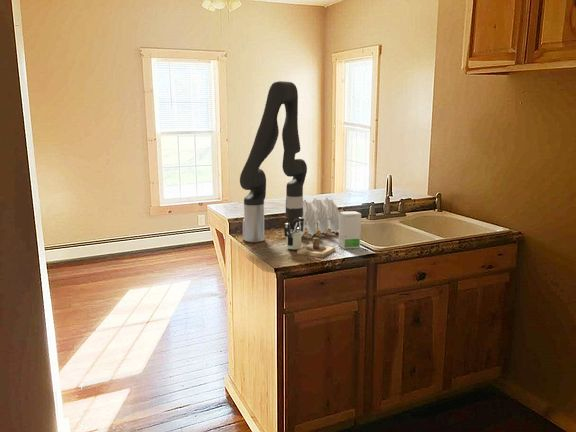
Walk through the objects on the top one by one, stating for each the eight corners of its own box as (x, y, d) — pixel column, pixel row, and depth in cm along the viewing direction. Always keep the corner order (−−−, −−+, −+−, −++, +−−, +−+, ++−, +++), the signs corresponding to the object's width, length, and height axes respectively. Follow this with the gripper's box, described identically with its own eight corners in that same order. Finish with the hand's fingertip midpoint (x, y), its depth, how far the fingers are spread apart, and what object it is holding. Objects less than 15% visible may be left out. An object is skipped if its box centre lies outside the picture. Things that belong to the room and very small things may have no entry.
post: (297, 253, 214) (297, 239, 213) (309, 246, 224) (310, 233, 223) (322, 257, 208) (323, 243, 207) (334, 250, 218) (335, 236, 217)
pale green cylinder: (284, 247, 219) (284, 230, 217) (291, 244, 224) (291, 228, 222) (296, 250, 216) (296, 232, 214) (303, 246, 221) (303, 229, 220)
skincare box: (343, 249, 220) (344, 214, 217) (337, 245, 227) (338, 211, 223) (360, 247, 223) (362, 213, 219) (354, 244, 229) (355, 210, 226)
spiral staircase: (340, 241, 249) (294, 244, 238) (326, 220, 261) (282, 222, 251) (351, 211, 238) (303, 213, 228) (335, 190, 251) (290, 191, 241)
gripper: (294, 202, 224) (294, 238, 228) (278, 207, 212) (278, 246, 215) (309, 204, 220) (309, 241, 224) (294, 209, 208) (293, 249, 212)
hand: (293, 243), depth 220 cm, fingers closed on pale green cylinder, 6 cm apart
